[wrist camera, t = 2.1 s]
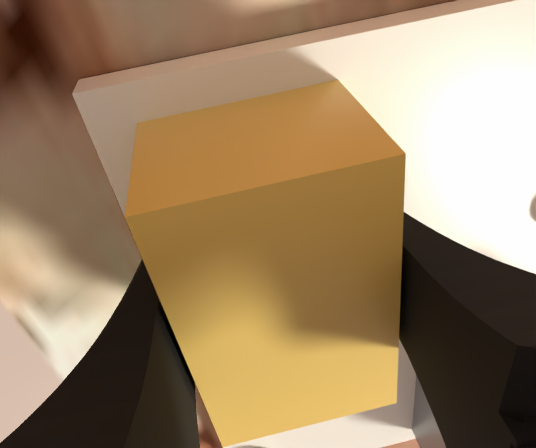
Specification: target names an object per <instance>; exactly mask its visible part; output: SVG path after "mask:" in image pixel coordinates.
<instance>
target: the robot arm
mask: <svg viewBox="0 0 536 448" xmlns="http://www.w3.org/2000/svg"><path fill="white" fill-rule="evenodd" d="M399 340H400V341H401V343H402V345H403V347H404V349H405V351H406V353H407V355H408V357H409V359H410V362H411V364H412V366H413V369H414V371H415V373H416V375H417V378H418V380H419V382H420V385H421V387H422V389H423V392H424V394H425V396H426V399H427V401H428V404H429V406H430V408H431V411H432V413H433V416H434V418H435V420H436V423H437V426H438V428H439V431H440V433H441V436H442V438H443V441H444V443H445V446H446V448H536V274H534V273H531V272H528V271H525V270H522V269H520V268H517V267H514V266H511V265H508V264H505V263H503V262H500V261H498V260H495V259H493V258H490V257H488V256H486V255H483V254H481V253H479V252H477V251H474V250H472V249H470V248H468V247H465V246H463V245H461V244H459V243H457V242H455V241H453V240H452V239H450V238H448V237H446V236H444V235H442V234H440V233H438V232H437V231H435V230H433V229H431V228H430V227H428V226H426V225H424V224H423V223H421V222H419V221H418V220H416V219H415V218H413V217H411V216H410V215H408V214H407V213H405V212H404V217H403V244H402V271H401V297H400V324H399ZM0 448H200V444H199V434H198V424H197V414H196V399H195V381H194V379H193V377H192V374H191V372H190V370H189V367H188V365H187V363H186V360H185V358H184V356H183V353H182V351H181V348H180V346H179V344H178V341H177V339H176V337H175V334H174V332H173V330H172V327H171V325H170V323H169V320H168V318H167V316H166V313H165V311H164V309H163V306H162V304H161V302H160V299H159V297H158V295H157V292H156V290H155V288H154V285H153V283H152V280H151V278H150V276H149V273H148V271H147V269H146V266H145V264H144V262H143V259H142V260H141V262H140V265H139V267H138V269H137V271H136V273H135V275H134V277H133V279H132V281H131V283H130V285H129V287H128V288H127V290H126V292H125V294H124V296H123V298H122V300H121V301H120V303H119V305H118V306H117V308H116V310H115V311H114V313H113V315H112V316H111V318H110V320H109V321H108V323H107V325H106V326H105V328H104V329H103V331H102V332H101V334H100V335H99V337H98V338H97V339H96V341H95V342H94V344H93V345H92V346H91V348H90V349H89V350H88V352H87V353H86V354H85V356H84V357H83V358H82V360H81V361H80V362H79V363H78V364H77V365H76V367H75V368H74V369H73V370H72V371H71V373H70V374H69V375H68V376H67V377H66V378H65V380H64V381H63V382H62V383H61V384H60V385H59V387H58V388H57V389H56V390H55V391H54V392H53V393H52V394H51V395H50V396H49V397H48V398H47V399H46V400H45V401H44V402H43V403H42V404H41V406H39V407H38V408H37V409H36V410H35V411H34V412H33V414H31V415H30V416H29V417H28V418H27V419H26V420H25V421H24V422H23V423H22V424H21V425H20V426H19V427H18V428H17V429H16V430H15V431H13V432H12V433H11V434H10V435H9V436H8V437H7V438H6V439H4V440H3V441H2V442H1V443H0Z"/></svg>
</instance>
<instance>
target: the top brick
mask: <svg viewBox="0 0 536 448" xmlns="http://www.w3.org/2000/svg"><path fill="white" fill-rule="evenodd" d="M405 164H406V153H405V152H404V151H403V150H402V149H401V148H400V147H399V146H398V144H397V143H396V142H395V141H394V140H393V139H392V138H391V137H390V136H389V135H388V134H387V132H386V131H385V130H384V129H383V128H382V127H381V126H380V125H379V124H378V123H377V122H376V120H375V119H374V118H373V117H372V116H371V115H370V114H369V113H368V112H367V111H366V109H365V108H364V107H363V106H362V105H361V104H360V103H359V102H358V101H357V100H356V99H355V97H354V96H353V95H352V94H351V93H350V92H349V91H348V90H347V89H346V88H345V86H344V85H343V84H342V83H341V82H340V81H339V80H334V81H329V82H324V83H320V84H315V85H310V86H306V87H301V88H296V89H292V90H287V91H283V92H278V93H273V94H269V95H264V96H259V97H255V98H250V99H245V100H241V101H236V102H232V103H227V104H222V105H218V106H213V107H208V108H204V109H199V110H194V111H190V112H185V113H180V114H176V115H171V116H167V117H162V118H157V119H153V120H148V121H143V122H139V123H137V127H136V135H135V142H134V150H133V157H132V165H131V172H130V180H129V187H128V195H127V202H126V210H125V220H126V222H127V224H128V227H129V229H130V231H131V234H132V236H133V238H134V241H135V243H136V245H137V248H138V250H139V252H140V255H141V257H142V259H143V262H144V264H145V266H146V269H147V271H148V273H149V276H150V278H151V280H152V283H153V285H154V288H155V290H156V292H157V295H158V297H159V299H160V302H161V304H162V306H163V309H164V311H165V313H166V316H167V318H168V320H169V323H170V325H171V327H172V330H173V332H174V334H175V337H176V339H177V341H178V344H179V346H180V348H181V351H182V353H183V356H184V358H185V360H186V363H187V365H188V367H189V370H190V372H191V374H192V377H193V379H194V381H195V384H196V386H197V388H198V391H199V393H200V395H201V398H202V400H203V402H204V405H205V407H206V409H207V412H208V414H209V416H210V419H211V421H212V424H213V426H214V428H215V431H216V433H217V435H218V438H219V440H220V442H221V445H222V447H226V446H230V445H234V444H238V443H242V442H246V441H250V440H254V439H258V438H262V437H265V436H269V435H273V434H277V433H281V432H285V431H289V430H293V429H297V428H301V427H305V426H309V425H313V424H316V423H320V422H324V421H328V420H332V419H336V418H340V417H344V416H348V415H352V414H356V413H360V412H364V411H367V410H371V409H375V408H379V407H383V406H387V405H391V404H395V403H397V377H398V351H399V324H400V297H401V271H402V244H403V217H404V190H405Z"/></svg>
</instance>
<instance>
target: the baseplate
mask: <svg viewBox="0 0 536 448" xmlns="http://www.w3.org/2000/svg"><path fill="white" fill-rule="evenodd" d="M334 80H339V81H340V82H341V83H342V84H343V85H344V86H345V88H346V89H347V90H348V91H349V92H350V93H351V94H352V95H353V96H354V97H355V99H356V100H357V101H358V102H359V103H360V104H361V105H362V106H363V107H364V108H365V109H366V111H367V112H368V113H369V114H370V115H371V116H372V117H373V118H374V119H375V120H376V122H377V123H378V124H379V125H380V126H381V127H382V128H383V129H384V130H385V131H386V132H387V134H388V135H389V136H390V137H391V138H392V139H393V140H394V141H395V142H396V143H397V144H398V146H399V147H400V148H401V149H402V150H403V151H404V152H405V153H406V164H405V190H404V212H405V213H407V214H408V215H410V216H411V217H413V218H415V219H416V220H418V221H419V222H421V223H423V224H424V225H426V226H428V227H430V228H431V229H433V230H435V231H437V232H438V233H440V234H442V235H444V236H446V237H448V238H450V239H452V240H453V241H455V242H457V243H459V244H461V245H463V246H465V247H468V248H470V249H472V250H474V251H477V252H479V253H481V254H483V255H486V256H488V257H490V258H493V259H495V260H498V261H500V262H503V263H505V264H508V265H511V266H514V267H517V268H520V269H522V270H525V271H528V272H531V273H534V274H536V0H456V1H452V2H447V3H442V4H437V5H432V6H428V7H423V8H418V9H413V10H408V11H404V12H399V13H394V14H389V15H385V16H380V17H375V18H370V19H365V20H361V21H356V22H351V23H346V24H342V25H337V26H332V27H327V28H322V29H318V30H313V31H308V32H303V33H299V34H294V35H289V36H284V37H279V38H275V39H270V40H265V41H260V42H256V43H251V44H246V45H241V46H236V47H232V48H227V49H222V50H217V51H213V52H208V53H203V54H198V55H193V56H189V57H184V58H179V59H174V60H170V61H165V62H160V63H155V64H150V65H146V66H141V67H136V68H131V69H127V70H122V71H117V72H112V73H107V74H103V75H98V76H93V77H88V78H83V79H79V80H78V82H77V84H76V86H75V88H74V91H73V93H72V95H73V98H74V100H75V102H76V105H77V107H78V109H79V112H80V114H81V116H82V119H83V121H84V123H85V126H86V128H87V130H88V133H89V135H90V137H91V140H92V142H93V145H94V147H95V149H96V152H97V154H98V156H99V159H100V161H101V163H102V166H103V168H104V170H105V173H106V175H107V177H108V180H109V182H110V184H111V187H112V189H113V191H114V194H115V196H116V198H117V201H118V203H119V205H120V208H121V210H122V212H123V215H124V217H125V210H126V202H127V195H128V187H129V180H130V172H131V165H132V157H133V150H134V142H135V135H136V127H137V123H139V122H143V121H148V120H153V119H157V118H162V117H167V116H171V115H176V114H180V113H185V112H190V111H194V110H199V109H204V108H208V107H213V106H218V105H222V104H227V103H232V102H236V101H241V100H245V99H250V98H255V97H259V96H264V95H269V94H273V93H278V92H283V91H287V90H292V89H296V88H301V87H306V86H310V85H315V84H320V83H324V82H329V81H334ZM415 384H416V373H415V371H414V369H413V366H412V364H411V362H410V359H409V357H408V355H407V353H406V351H405V349H404V347H403V345H402V343H401V341H400V340H399V351H398V377H397V403H395V404H391V405H387V406H383V407H379V408H375V409H371V410H367V411H364V412H360V413H356V414H352V415H348V416H344V417H340V418H336V419H332V420H328V421H324V422H320V423H316V424H313V425H309V426H305V427H301V428H297V429H293V430H289V431H285V432H281V433H277V434H273V435H269V436H265V437H262V438H258V439H254V440H250V441H246V442H242V443H238V444H234V445H230V446H226V447H223V448H381V447H385V446H388V445H392V444H396V443H400V442H404V441H408V440H411V439H415V438H416V437H415V435H414V433H413V431H412V422H413V409H414V397H415Z"/></svg>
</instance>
